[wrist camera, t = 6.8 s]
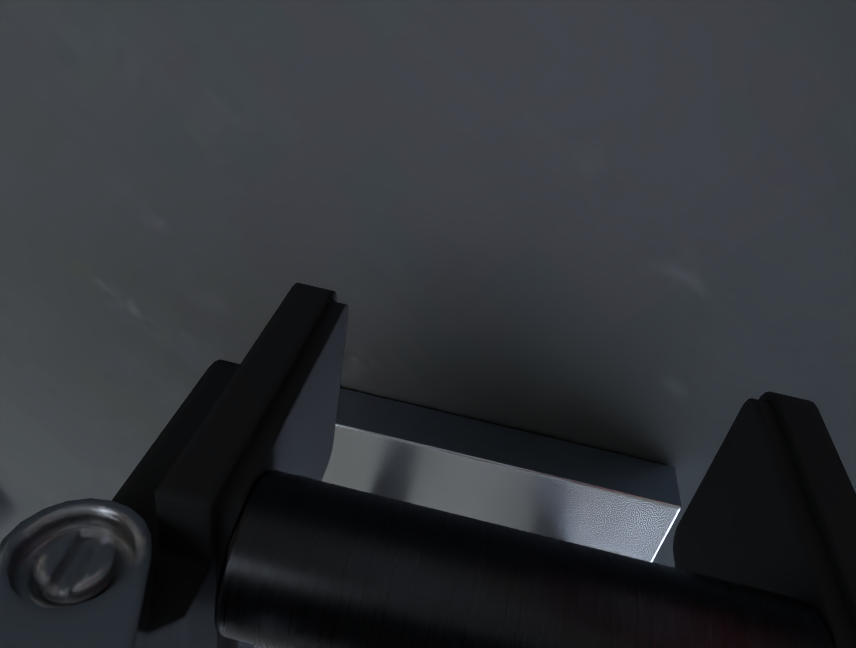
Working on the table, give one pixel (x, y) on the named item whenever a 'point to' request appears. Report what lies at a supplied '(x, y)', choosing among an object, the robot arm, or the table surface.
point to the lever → (466, 584)
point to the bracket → (502, 475)
